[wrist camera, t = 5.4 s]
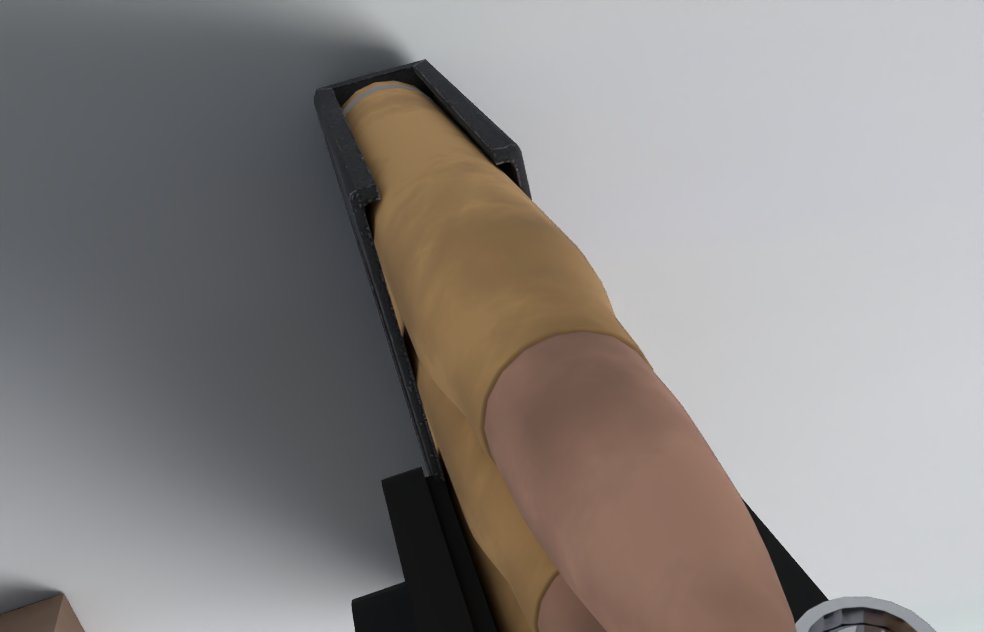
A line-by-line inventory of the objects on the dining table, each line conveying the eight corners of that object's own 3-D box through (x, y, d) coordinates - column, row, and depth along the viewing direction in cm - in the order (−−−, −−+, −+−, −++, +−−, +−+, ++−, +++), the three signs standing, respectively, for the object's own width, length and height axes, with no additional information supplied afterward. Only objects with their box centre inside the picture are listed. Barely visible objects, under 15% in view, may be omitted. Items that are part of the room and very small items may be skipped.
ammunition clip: (310, 89, 14) (521, 660, 3) (429, 56, 14) (1003, 486, 3) (474, 623, 19) (790, 1597, 8) (563, 591, 19) (990, 1496, 8)
